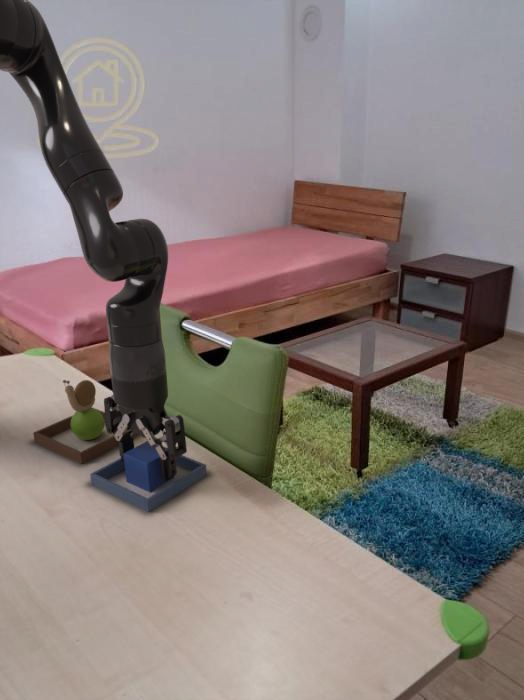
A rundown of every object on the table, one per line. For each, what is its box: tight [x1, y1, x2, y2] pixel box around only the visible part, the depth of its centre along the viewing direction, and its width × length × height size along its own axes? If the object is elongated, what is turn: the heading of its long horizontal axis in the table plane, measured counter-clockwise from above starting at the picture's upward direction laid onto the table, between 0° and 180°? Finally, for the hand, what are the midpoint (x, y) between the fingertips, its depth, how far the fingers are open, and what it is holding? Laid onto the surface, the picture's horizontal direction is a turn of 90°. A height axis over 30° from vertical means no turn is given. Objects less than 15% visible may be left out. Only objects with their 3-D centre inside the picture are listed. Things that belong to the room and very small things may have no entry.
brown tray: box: [32, 406, 140, 465], centre depth 106 cm, size 12×12×2 cm
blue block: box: [123, 440, 175, 493], centre depth 94 cm, size 5×5×5 cm
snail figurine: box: [62, 379, 106, 441], centre depth 104 cm, size 5×6×12 cm
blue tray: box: [89, 454, 207, 513], centre depth 95 cm, size 12×12×2 cm
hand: (148, 469), depth 95 cm, fingers open, 8 cm apart
